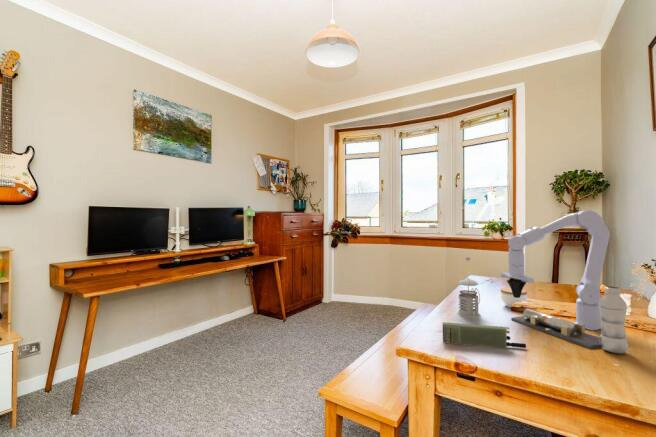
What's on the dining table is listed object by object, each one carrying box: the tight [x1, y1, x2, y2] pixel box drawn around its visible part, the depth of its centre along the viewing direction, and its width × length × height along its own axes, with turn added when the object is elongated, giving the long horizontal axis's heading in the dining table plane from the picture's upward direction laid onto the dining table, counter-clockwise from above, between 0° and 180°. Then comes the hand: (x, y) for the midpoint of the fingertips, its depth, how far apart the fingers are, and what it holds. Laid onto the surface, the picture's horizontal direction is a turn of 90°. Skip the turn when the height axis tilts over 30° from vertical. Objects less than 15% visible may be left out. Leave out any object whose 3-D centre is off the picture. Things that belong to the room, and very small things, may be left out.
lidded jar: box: [500, 287, 528, 309], centre depth 149 cm, size 11×11×9 cm
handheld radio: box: [442, 321, 527, 349], centre depth 106 cm, size 7×3×25 cm
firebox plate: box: [511, 313, 602, 350], centre depth 117 cm, size 10×30×4 cm, turn 16°
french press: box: [456, 256, 482, 319], centre depth 137 cm, size 10×12×25 cm
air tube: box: [522, 308, 577, 334], centre depth 120 cm, size 18×4×4 cm, turn 16°
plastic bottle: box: [599, 285, 629, 354], centre depth 99 cm, size 6×7×20 cm
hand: (516, 297), depth 133 cm, fingers closed
